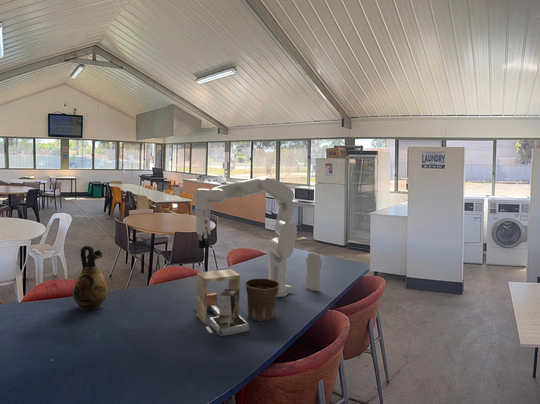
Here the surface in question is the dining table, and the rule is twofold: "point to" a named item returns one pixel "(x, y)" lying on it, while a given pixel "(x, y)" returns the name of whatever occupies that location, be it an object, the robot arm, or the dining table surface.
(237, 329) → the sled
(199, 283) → the tunnel
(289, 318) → the dining table surface
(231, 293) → the coffee box
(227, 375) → the dining table surface
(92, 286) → the ceramic jug
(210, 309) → the strip
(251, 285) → the plant pot
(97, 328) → the dining table surface
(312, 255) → the tall pale column
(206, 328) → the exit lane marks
